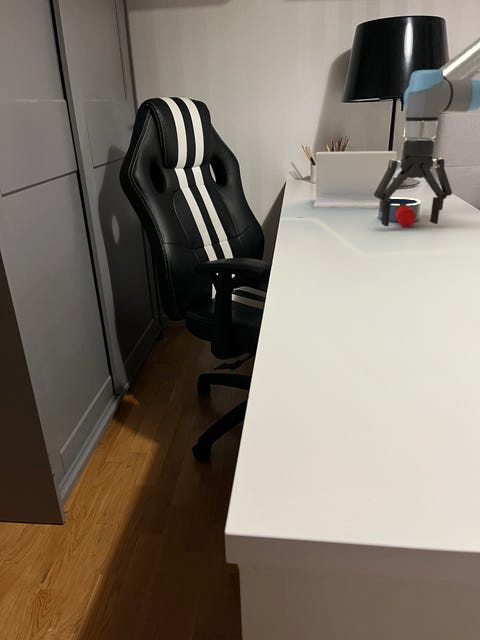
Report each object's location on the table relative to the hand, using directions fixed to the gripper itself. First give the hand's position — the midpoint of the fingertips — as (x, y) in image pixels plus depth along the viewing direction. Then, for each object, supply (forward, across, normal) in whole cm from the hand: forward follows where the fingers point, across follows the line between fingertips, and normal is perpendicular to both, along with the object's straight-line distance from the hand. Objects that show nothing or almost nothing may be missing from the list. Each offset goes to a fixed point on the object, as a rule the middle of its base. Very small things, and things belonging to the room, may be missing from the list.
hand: (409, 224), depth 133 cm
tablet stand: (+1, +2, -40) cm, 40 cm away
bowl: (+1, -2, -12) cm, 12 cm away
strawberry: (0, 0, 0) cm, 0 cm away
